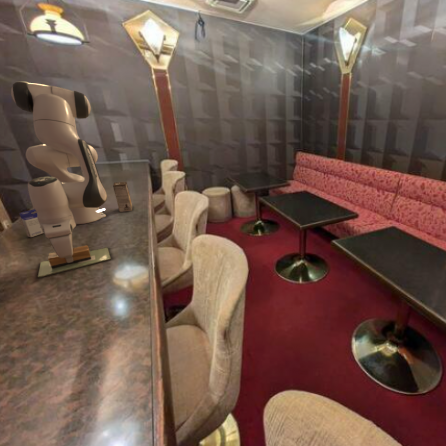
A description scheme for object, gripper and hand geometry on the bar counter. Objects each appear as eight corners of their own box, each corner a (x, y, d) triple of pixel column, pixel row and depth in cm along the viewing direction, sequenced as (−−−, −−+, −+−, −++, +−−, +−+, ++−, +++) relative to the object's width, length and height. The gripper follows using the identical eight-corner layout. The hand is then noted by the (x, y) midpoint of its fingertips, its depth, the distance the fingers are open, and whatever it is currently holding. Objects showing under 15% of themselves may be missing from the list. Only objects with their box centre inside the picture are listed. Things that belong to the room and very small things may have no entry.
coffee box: (120, 207, 152) (113, 182, 146) (132, 206, 155) (126, 181, 149) (119, 212, 145) (112, 185, 139) (132, 210, 148) (126, 184, 142)
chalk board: (41, 263, 91) (40, 262, 91) (107, 248, 104) (107, 247, 104) (38, 277, 83) (37, 276, 83) (110, 259, 96) (110, 258, 95)
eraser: (52, 262, 91) (48, 253, 89) (90, 254, 98) (87, 245, 96) (51, 268, 87) (48, 258, 86) (91, 259, 94) (88, 249, 93)
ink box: (31, 237, 110) (21, 213, 106) (27, 237, 111) (17, 213, 107) (59, 228, 121) (51, 206, 117) (55, 227, 121) (47, 205, 117)
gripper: (47, 217, 92) (59, 250, 97) (44, 235, 78) (58, 272, 83) (69, 214, 96) (80, 245, 101) (70, 230, 82) (82, 266, 87)
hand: (70, 258), depth 92 cm, fingers closed on eraser, 5 cm apart
